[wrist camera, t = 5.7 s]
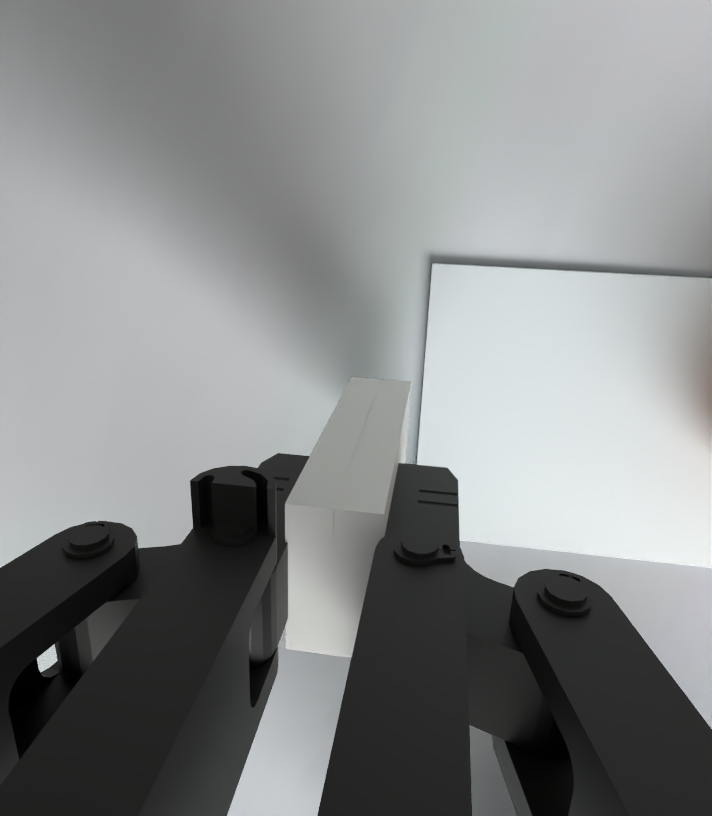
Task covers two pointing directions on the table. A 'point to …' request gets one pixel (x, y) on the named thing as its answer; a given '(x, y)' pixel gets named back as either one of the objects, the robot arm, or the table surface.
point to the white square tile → (573, 409)
